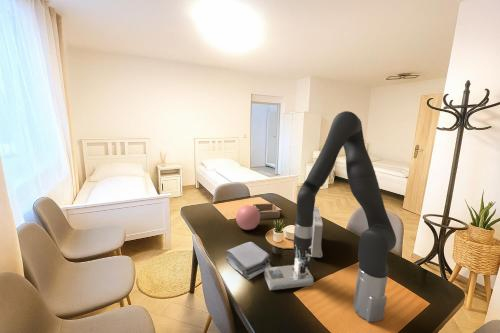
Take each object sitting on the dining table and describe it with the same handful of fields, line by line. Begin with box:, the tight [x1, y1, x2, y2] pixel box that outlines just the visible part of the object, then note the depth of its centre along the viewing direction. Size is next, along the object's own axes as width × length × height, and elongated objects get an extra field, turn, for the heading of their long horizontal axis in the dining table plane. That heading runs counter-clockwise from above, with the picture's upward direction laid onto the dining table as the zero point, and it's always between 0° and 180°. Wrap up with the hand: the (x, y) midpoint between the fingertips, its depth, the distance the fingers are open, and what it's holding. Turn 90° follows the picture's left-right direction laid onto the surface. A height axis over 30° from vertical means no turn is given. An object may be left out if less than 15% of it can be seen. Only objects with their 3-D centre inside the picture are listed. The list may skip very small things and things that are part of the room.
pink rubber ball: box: [235, 204, 261, 231], centre depth 145 cm, size 15×20×15 cm
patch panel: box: [263, 264, 314, 291], centre depth 98 cm, size 10×19×4 cm, turn 101°
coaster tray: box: [252, 202, 281, 220], centre depth 169 cm, size 16×16×5 cm
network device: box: [308, 206, 324, 258], centre depth 123 cm, size 26×9×20 cm, turn 168°
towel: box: [225, 241, 272, 280], centre depth 108 cm, size 15×18×8 cm
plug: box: [293, 257, 308, 276], centre depth 98 cm, size 4×4×10 cm
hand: (300, 269), depth 98 cm, fingers closed on plug, 4 cm apart
